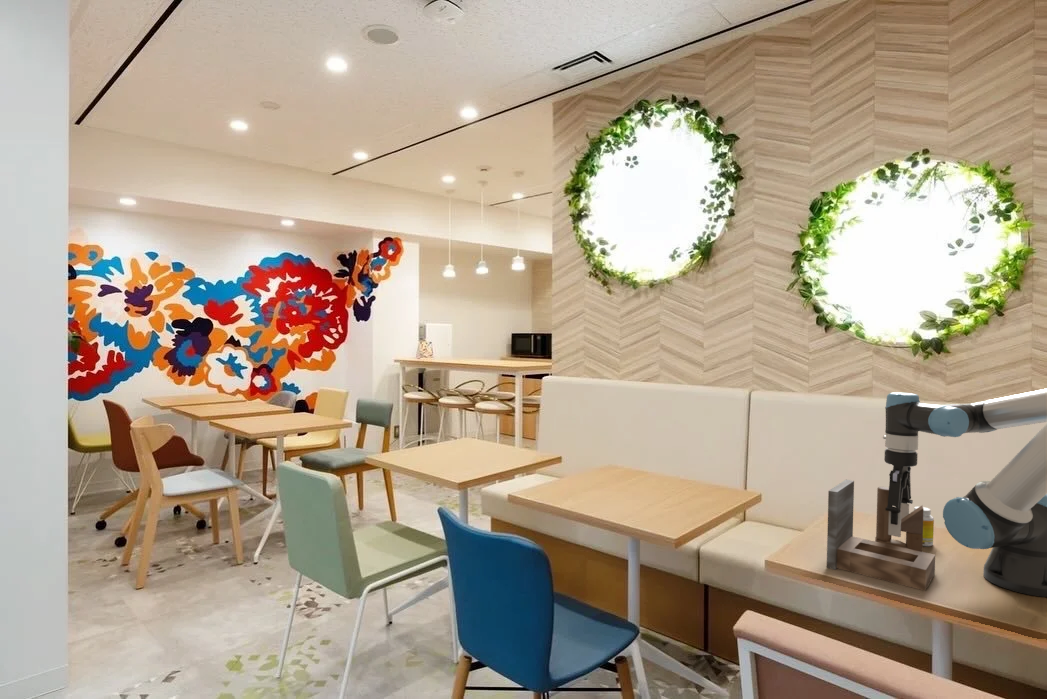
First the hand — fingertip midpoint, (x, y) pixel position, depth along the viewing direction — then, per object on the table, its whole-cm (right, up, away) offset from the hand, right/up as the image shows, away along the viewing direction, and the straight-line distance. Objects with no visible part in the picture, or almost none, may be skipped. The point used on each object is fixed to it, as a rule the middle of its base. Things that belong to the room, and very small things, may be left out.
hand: (898, 530), depth 159 cm
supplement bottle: (+12, -7, +9) cm, 17 cm away
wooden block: (0, -7, 0) cm, 7 cm away
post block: (-10, -7, -11) cm, 16 cm away
